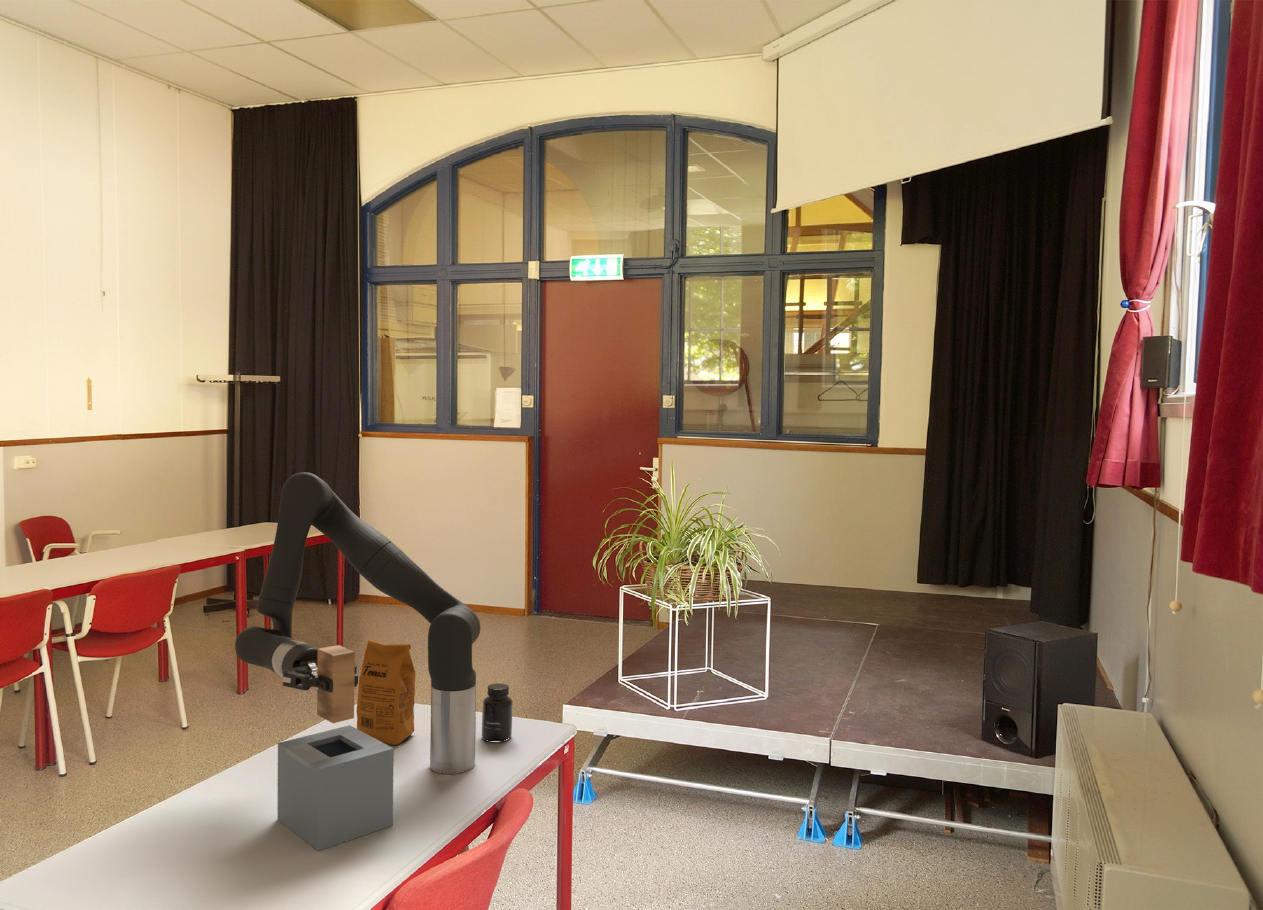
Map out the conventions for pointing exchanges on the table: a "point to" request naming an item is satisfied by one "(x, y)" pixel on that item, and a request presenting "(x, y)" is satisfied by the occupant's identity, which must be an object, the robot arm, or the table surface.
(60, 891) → the table surface
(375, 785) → the grey box with opening
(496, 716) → the supplement bottle
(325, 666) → the wooden block
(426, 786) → the table surface
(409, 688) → the coffee package
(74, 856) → the table surface
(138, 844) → the table surface
